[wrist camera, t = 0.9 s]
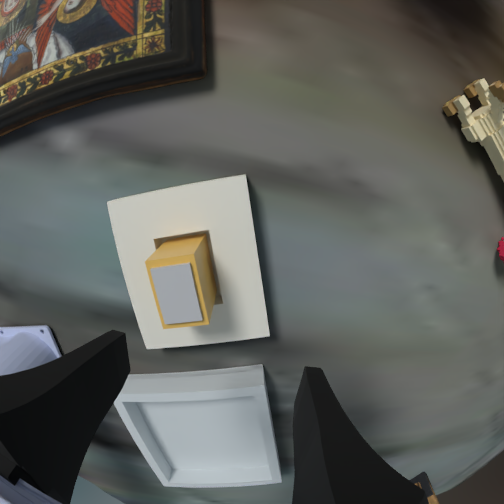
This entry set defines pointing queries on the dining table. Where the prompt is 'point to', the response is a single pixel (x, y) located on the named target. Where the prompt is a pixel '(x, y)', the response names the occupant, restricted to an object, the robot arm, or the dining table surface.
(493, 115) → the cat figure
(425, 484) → the ammunition clip
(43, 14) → the framed painting
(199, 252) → the block
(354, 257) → the dining table surface
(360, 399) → the dining table surface
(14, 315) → the dining table surface
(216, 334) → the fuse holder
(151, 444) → the parts tray
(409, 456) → the dining table surface
